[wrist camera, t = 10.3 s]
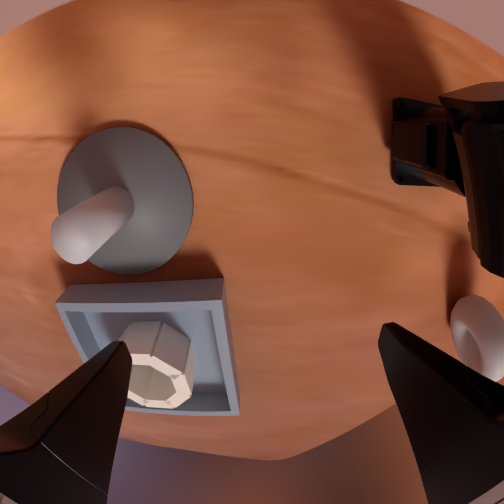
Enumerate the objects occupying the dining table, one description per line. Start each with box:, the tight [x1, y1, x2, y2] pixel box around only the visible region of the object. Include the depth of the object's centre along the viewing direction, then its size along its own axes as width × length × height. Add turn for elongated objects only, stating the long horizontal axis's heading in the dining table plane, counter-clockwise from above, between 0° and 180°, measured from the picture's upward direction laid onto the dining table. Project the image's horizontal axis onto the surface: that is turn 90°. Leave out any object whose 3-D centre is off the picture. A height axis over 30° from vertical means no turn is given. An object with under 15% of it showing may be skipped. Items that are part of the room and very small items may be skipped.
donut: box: [450, 295, 504, 382], centre depth 20 cm, size 10×3×10 cm, turn 28°
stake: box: [51, 127, 193, 275], centre depth 15 cm, size 11×11×7 cm
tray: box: [55, 278, 240, 416], centre depth 23 cm, size 14×14×3 cm
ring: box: [118, 321, 197, 409], centre depth 22 cm, size 7×9×4 cm
